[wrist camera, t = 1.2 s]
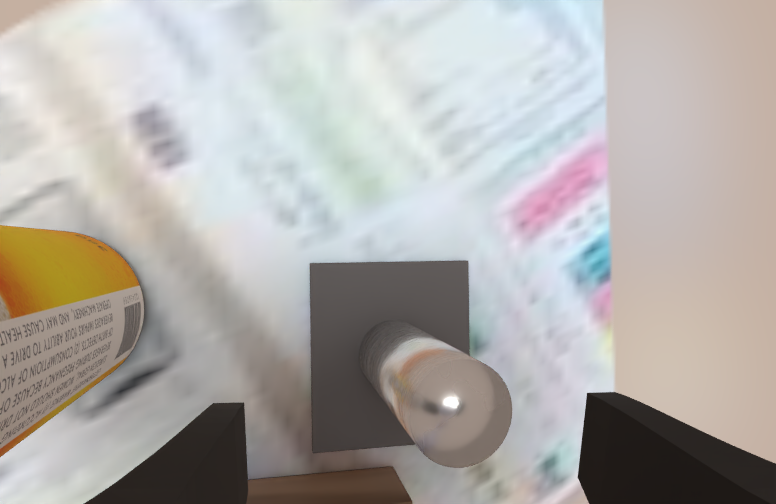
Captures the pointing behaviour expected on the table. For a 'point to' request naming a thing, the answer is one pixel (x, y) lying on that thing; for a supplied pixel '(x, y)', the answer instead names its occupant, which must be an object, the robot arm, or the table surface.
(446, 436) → the steel peg
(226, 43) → the table surface
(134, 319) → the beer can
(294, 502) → the walnut block
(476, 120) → the table surface
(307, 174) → the table surface
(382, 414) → the rubber mat
